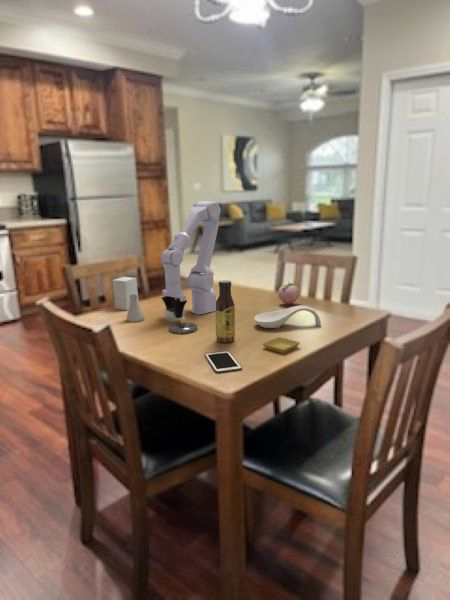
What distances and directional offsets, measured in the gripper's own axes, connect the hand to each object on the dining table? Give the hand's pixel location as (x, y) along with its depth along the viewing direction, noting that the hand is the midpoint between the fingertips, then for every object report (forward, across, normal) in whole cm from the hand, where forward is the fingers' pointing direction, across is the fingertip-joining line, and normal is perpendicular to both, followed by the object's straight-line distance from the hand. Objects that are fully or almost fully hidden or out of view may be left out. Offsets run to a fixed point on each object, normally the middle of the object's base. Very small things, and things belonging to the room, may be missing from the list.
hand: (174, 315), depth 175 cm
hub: (+1, +13, -4) cm, 14 cm away
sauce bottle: (+2, +32, +1) cm, 32 cm away
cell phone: (+2, +47, -11) cm, 48 cm away
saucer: (+2, +49, +10) cm, 50 cm away
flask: (+2, -10, -12) cm, 16 cm away
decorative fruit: (+2, +13, +47) cm, 49 cm away
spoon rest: (+2, +33, +27) cm, 43 cm away
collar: (+1, 0, 0) cm, 1 cm away
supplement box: (+2, -29, -7) cm, 30 cm away
